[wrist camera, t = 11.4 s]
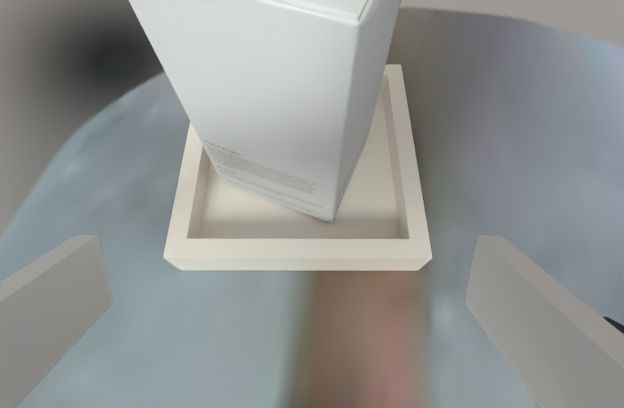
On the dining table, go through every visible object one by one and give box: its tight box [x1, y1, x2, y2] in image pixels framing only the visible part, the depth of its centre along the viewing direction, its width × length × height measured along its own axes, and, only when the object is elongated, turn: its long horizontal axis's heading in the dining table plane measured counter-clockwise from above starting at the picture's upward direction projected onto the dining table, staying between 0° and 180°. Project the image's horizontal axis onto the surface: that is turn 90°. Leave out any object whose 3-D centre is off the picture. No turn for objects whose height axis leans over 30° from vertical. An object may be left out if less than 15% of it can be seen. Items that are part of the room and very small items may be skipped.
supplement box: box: [129, 0, 401, 223], centre depth 18 cm, size 9×9×15 cm
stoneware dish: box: [163, 64, 432, 271], centre depth 24 cm, size 16×16×3 cm
